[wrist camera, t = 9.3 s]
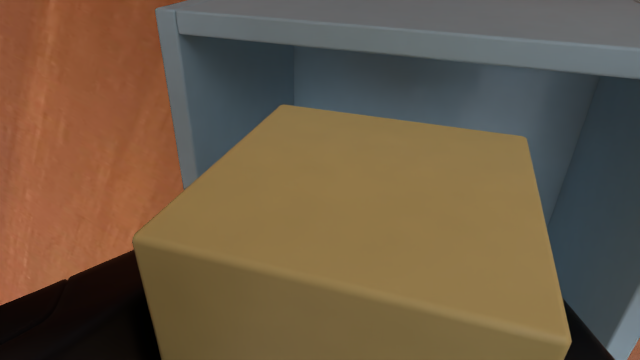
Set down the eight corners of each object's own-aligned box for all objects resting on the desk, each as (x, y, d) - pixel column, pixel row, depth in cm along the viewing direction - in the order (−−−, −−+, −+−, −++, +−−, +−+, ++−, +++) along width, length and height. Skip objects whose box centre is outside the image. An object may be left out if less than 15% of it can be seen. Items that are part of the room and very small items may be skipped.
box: (532, 298, 19) (557, 483, 12) (290, 245, 21) (212, 374, 15) (642, -5, 13) (799, 60, 6) (285, -25, 15) (153, 7, 9)
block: (527, 134, 7) (578, 343, 4) (475, 321, 9) (472, 566, 6) (280, 102, 8) (126, 235, 5) (285, 276, 11) (183, 459, 7)
